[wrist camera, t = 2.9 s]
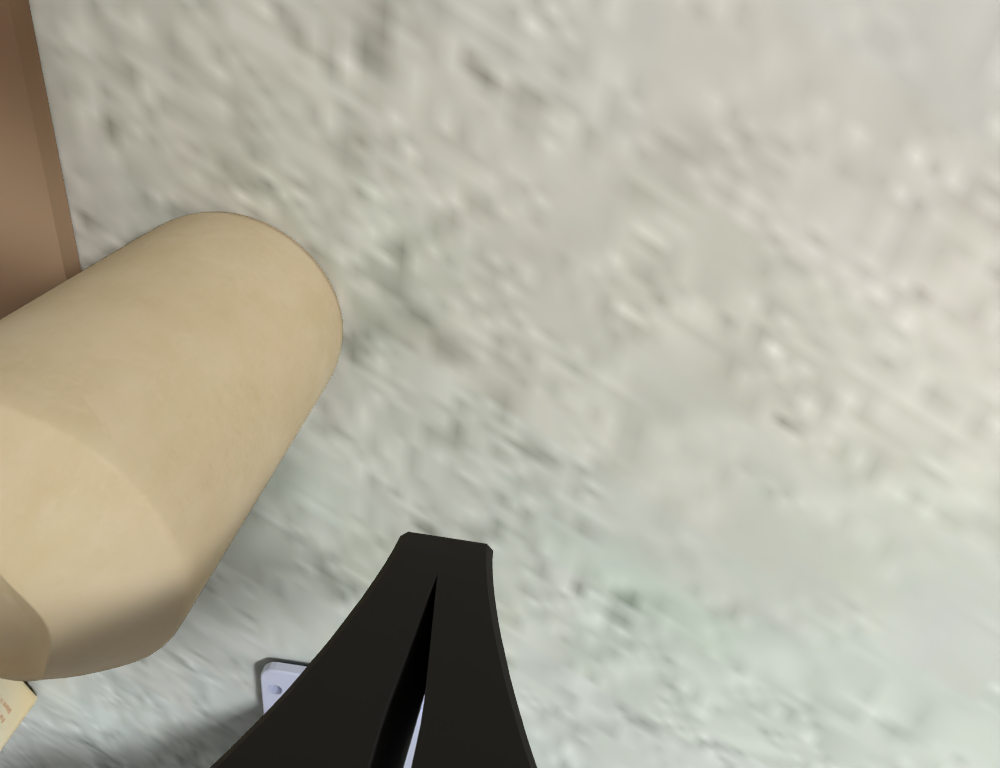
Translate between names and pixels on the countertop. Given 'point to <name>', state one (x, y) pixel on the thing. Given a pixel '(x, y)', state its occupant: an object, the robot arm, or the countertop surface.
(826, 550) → the countertop surface
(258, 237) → the candle
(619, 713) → the countertop surface
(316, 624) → the countertop surface
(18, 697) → the coffeecake box
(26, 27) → the walnut board
